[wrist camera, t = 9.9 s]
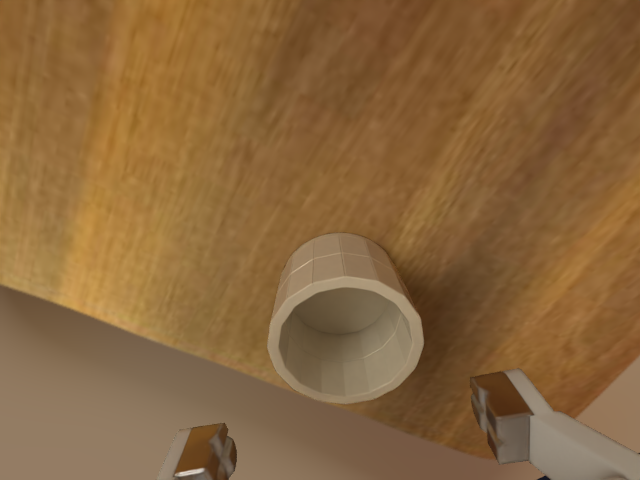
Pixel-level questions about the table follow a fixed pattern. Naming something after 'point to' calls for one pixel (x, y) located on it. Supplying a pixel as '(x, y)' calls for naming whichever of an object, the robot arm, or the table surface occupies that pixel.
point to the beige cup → (343, 321)
